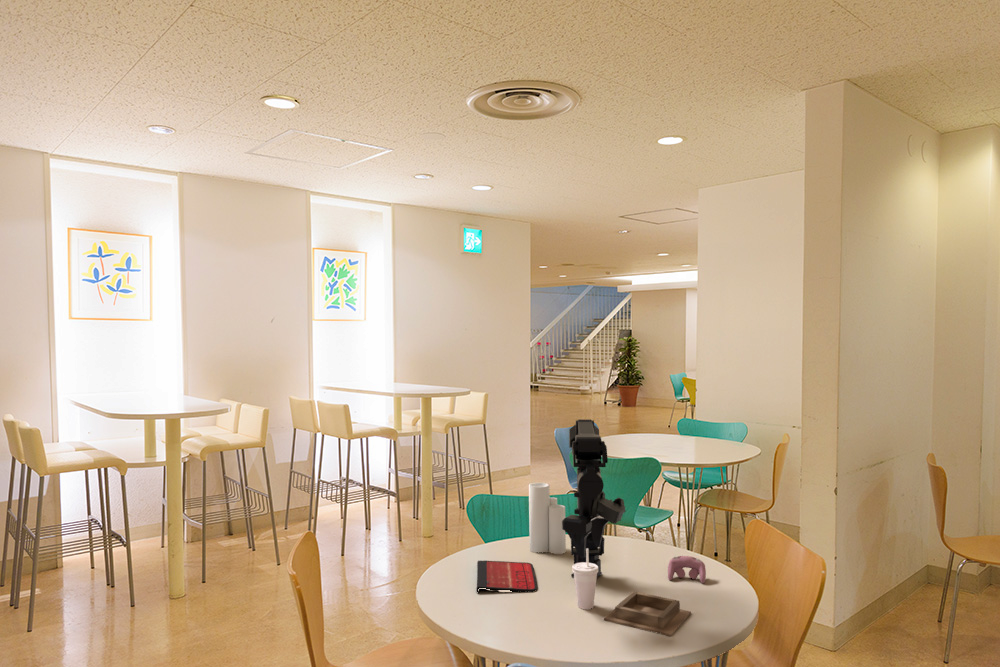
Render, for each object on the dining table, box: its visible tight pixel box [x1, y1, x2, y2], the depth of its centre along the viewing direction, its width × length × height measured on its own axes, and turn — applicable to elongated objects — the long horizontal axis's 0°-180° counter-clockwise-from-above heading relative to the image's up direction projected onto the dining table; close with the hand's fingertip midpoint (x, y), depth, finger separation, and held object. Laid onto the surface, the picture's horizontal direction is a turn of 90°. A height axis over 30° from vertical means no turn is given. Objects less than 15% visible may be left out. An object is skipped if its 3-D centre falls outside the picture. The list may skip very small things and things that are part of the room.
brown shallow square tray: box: [603, 591, 692, 637], centre depth 155 cm, size 16×14×3 cm
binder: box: [475, 560, 538, 593], centre depth 181 cm, size 16×2×21 cm
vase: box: [528, 482, 567, 555], centre depth 205 cm, size 11×7×20 cm, turn 79°
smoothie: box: [571, 548, 598, 610], centre depth 162 cm, size 6×6×14 cm
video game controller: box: [667, 555, 707, 584], centre depth 179 cm, size 10×5×7 cm, turn 71°
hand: (589, 552), depth 162 cm, fingers open, 9 cm apart
